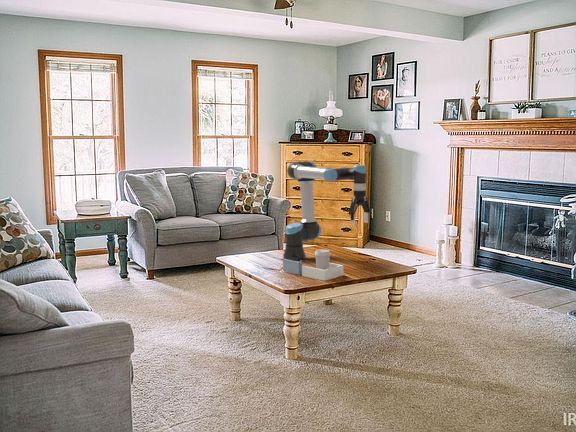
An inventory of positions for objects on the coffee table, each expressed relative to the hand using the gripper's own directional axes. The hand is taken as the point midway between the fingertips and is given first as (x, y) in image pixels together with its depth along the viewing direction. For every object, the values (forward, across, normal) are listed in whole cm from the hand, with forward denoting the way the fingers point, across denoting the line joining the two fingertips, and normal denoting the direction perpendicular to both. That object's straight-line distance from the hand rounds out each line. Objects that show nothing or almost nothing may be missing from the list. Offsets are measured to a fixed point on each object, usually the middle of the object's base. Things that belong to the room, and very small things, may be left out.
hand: (359, 224), depth 354 cm
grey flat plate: (+27, -41, +21) cm, 53 cm away
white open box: (+27, -33, +3) cm, 43 cm away
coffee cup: (+27, -33, +3) cm, 43 cm away
